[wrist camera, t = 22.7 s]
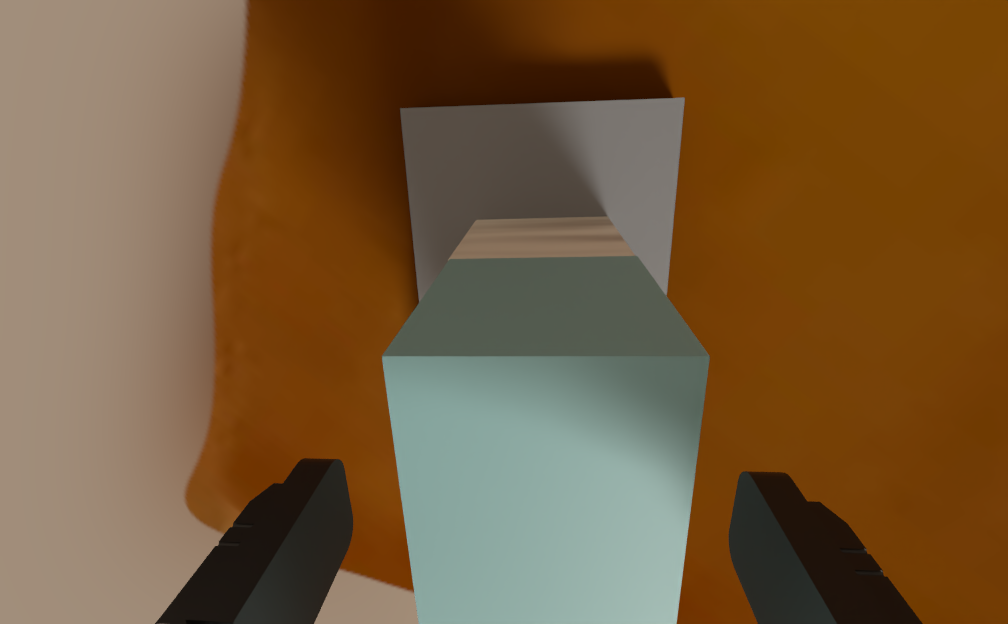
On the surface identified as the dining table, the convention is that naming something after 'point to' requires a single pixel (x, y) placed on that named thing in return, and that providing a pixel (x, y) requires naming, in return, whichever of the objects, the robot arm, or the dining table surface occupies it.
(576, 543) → the teal brick
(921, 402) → the dining table surface
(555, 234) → the cream brick
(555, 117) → the baseplate
